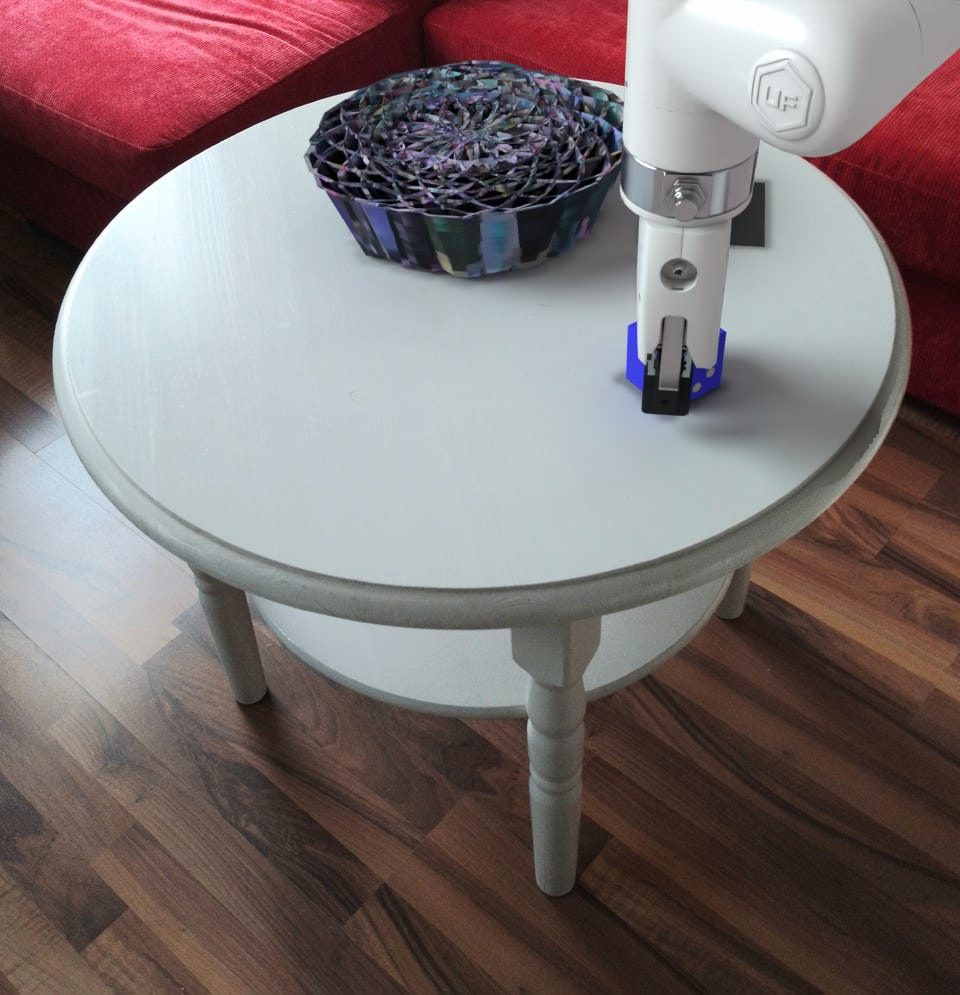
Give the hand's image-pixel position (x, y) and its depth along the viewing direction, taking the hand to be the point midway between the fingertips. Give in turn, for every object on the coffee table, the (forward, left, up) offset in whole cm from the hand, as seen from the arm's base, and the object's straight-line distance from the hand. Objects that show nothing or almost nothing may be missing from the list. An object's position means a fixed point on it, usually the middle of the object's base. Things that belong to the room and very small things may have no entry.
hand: (665, 406), depth 76 cm
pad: (-2, -28, -2) cm, 29 cm away
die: (0, -5, -3) cm, 6 cm away
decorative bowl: (+18, -26, -3) cm, 32 cm away
